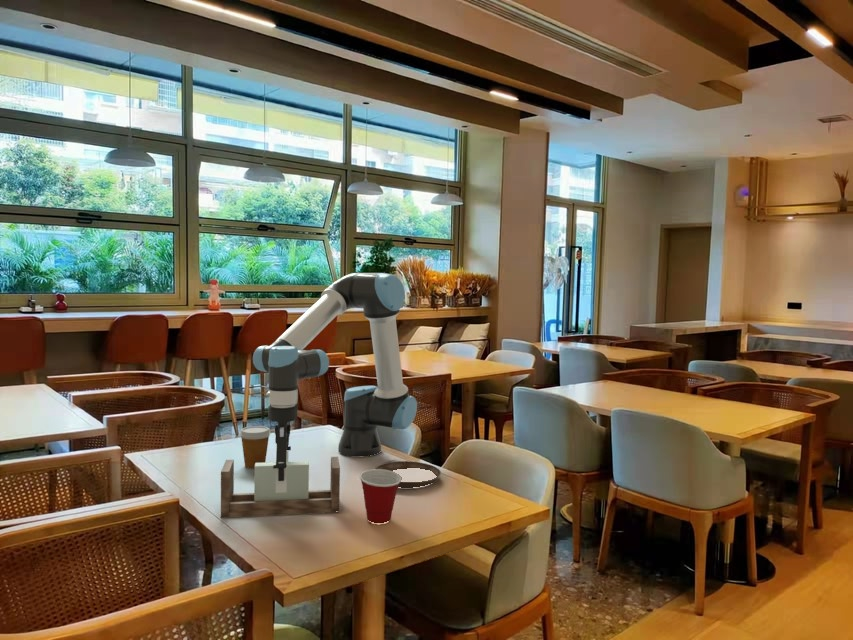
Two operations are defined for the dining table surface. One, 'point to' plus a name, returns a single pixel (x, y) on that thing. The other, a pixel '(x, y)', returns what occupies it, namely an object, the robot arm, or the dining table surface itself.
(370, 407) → the robot arm
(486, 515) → the dining table surface
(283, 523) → the dining table surface
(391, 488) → the plastic cup
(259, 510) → the wooden rack
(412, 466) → the plant saucer
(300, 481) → the white flat block
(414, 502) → the dining table surface
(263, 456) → the disposable coffee cup
